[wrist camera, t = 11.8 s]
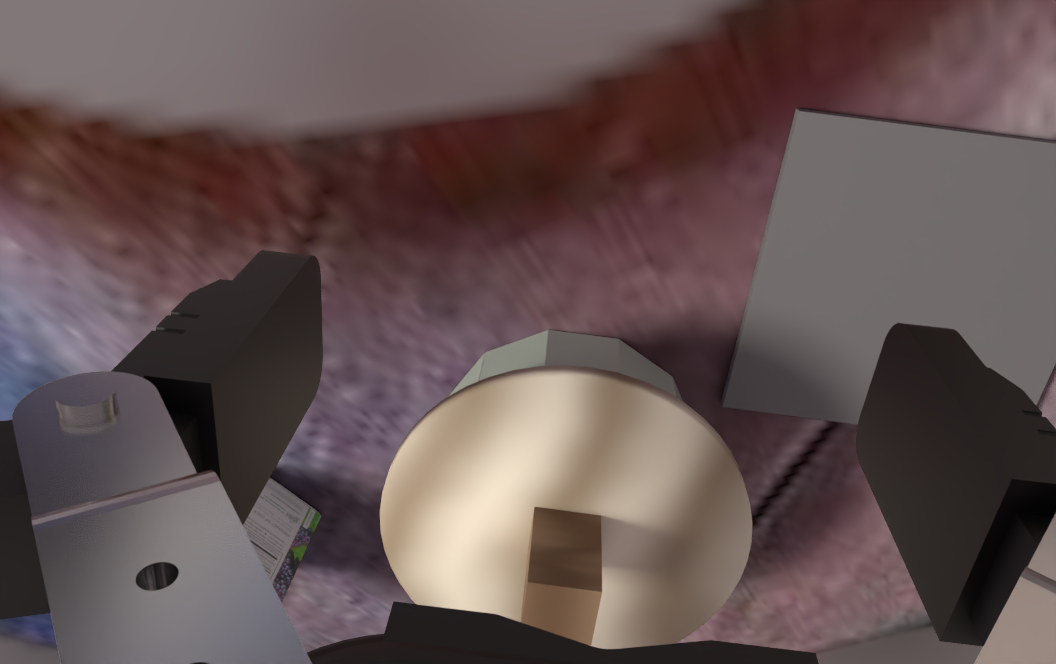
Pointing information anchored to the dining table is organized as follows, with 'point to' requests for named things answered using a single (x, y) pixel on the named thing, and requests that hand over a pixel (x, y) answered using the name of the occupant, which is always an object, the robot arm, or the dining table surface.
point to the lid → (569, 507)
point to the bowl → (569, 358)
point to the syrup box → (280, 533)
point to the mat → (896, 260)
